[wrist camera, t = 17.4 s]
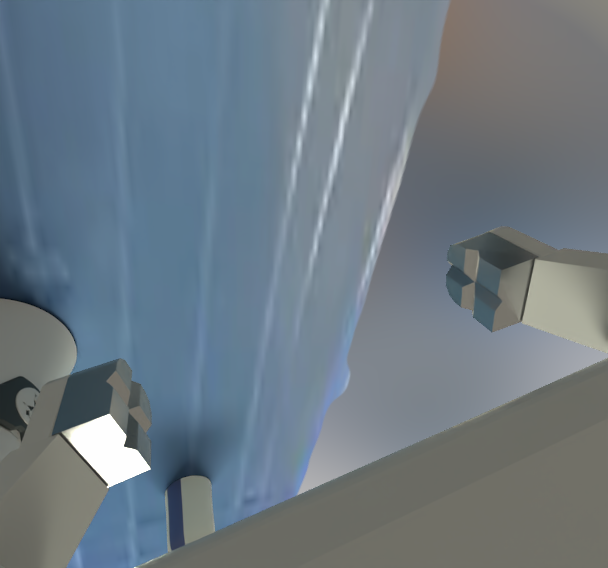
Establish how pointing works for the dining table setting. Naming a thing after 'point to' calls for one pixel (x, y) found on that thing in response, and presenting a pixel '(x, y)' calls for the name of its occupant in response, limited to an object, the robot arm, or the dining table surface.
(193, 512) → the water bottle
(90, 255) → the dining table surface
